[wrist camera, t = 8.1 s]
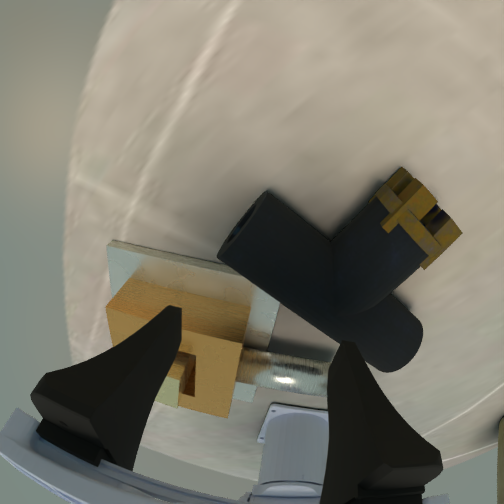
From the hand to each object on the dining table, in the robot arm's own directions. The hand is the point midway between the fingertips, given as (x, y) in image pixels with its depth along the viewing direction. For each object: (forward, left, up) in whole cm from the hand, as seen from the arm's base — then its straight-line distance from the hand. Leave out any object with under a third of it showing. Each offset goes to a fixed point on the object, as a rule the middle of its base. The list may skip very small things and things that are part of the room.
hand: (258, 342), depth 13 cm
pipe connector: (+1, -6, -10) cm, 12 cm away
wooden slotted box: (-10, +3, -10) cm, 14 cm away
